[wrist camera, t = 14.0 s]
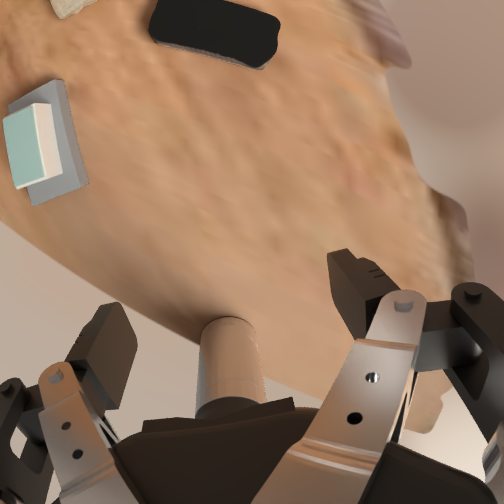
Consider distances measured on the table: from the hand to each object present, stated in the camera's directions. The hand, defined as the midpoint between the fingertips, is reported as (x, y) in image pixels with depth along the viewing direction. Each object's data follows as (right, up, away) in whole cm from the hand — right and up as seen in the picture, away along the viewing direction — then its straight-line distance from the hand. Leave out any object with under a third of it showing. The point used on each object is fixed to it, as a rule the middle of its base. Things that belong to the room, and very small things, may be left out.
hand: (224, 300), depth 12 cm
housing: (-28, +17, +24) cm, 40 cm away
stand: (-28, +18, +26) cm, 42 cm away
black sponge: (-4, +31, +24) cm, 39 cm away
